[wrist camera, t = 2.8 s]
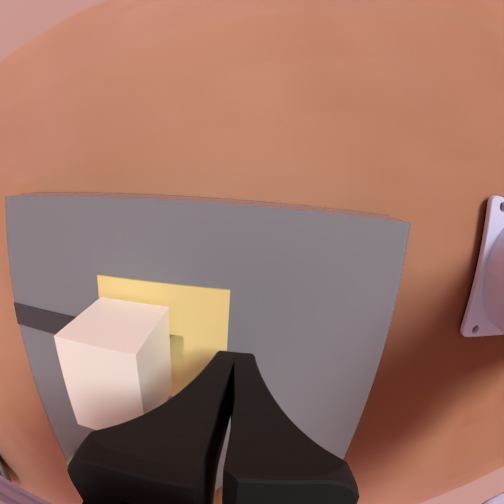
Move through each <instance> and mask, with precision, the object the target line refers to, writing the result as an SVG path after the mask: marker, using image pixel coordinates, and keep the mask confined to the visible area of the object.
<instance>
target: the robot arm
mask: <svg viewBox="0 0 504 504" xmlns="http://www.w3.org/2000/svg"><path fill="white" fill-rule="evenodd" d="M500 204H502V207H501V210H500ZM474 327H475V328H474ZM473 328H474V329H473ZM472 329H473V330H472ZM460 332H461V334H462V335H463V336H464V337H478V336H492V335H504V198H503V197H499V196H491V197H490V198H489V199H488V203H487V210H486V218H485V225H484V231H483V237H482V243H481V249H480V254H479V259H478V264H477V268H476V273H475V277H474V281H473V285H472V289H471V293H470V297H469V301H468V304H467V308H466V311H465V315H464V318H463V321H462V324H461V328H460ZM230 416H231V429H230V435H229V440H228V446H227V452H226V457H225V462H224V467H223V487H222V504H357V502H358V499H359V493H358V488H357V484H356V481H355V479H354V477H353V474H352V472H351V470H350V468H349V466H348V464H347V462H346V461H344V460H342V459H341V458H339V457H337V456H336V455H334V454H332V453H330V452H329V451H327V450H325V449H324V448H322V447H321V446H320V445H318V444H317V443H316V442H314V441H313V440H312V439H310V438H309V437H308V436H307V435H306V434H305V433H304V432H302V431H301V430H300V429H299V428H298V427H297V426H296V425H295V424H294V423H293V422H292V421H291V420H290V418H289V417H288V416H287V415H286V414H285V413H284V411H283V410H282V409H281V407H280V406H279V405H278V403H277V402H276V400H275V399H274V397H273V396H272V394H271V393H270V391H269V389H268V387H267V386H266V384H265V382H264V380H263V378H262V376H261V373H260V371H259V369H258V366H257V363H256V359H255V356H254V355H253V354H251V353H239V352H229V351H218V352H217V353H216V354H215V356H214V357H213V358H212V360H211V361H210V362H209V363H208V365H207V366H206V367H205V368H204V369H203V370H202V371H201V372H200V373H199V374H198V375H197V376H196V378H195V379H193V380H192V381H191V382H190V383H189V384H188V385H187V386H186V387H185V388H183V389H182V390H181V391H180V392H179V393H177V394H176V395H175V396H173V397H172V398H171V399H169V400H168V401H166V402H165V403H163V404H162V405H160V406H158V407H157V408H155V409H153V410H151V411H149V412H148V413H146V414H144V415H141V416H139V417H137V418H134V419H132V420H129V421H127V422H124V423H121V424H118V425H115V426H111V427H107V428H104V429H100V430H96V431H91V432H90V433H89V435H88V436H87V437H86V438H85V439H84V441H83V442H82V443H81V445H80V446H79V448H78V450H77V451H76V453H75V454H74V456H73V458H72V459H71V461H70V463H69V464H68V473H69V476H70V478H71V480H72V482H73V484H74V486H75V487H76V489H77V491H78V492H79V494H80V496H81V497H82V499H83V503H82V504H213V500H214V492H215V485H216V477H217V470H218V465H219V460H220V456H221V452H222V448H223V444H224V440H225V436H226V432H227V428H228V424H229V420H230ZM0 504H51V503H49V502H47V501H45V500H43V499H41V498H39V497H37V496H35V495H33V494H32V493H30V492H28V491H26V490H24V489H23V488H21V487H19V486H17V485H16V484H14V483H12V482H10V481H9V480H7V479H6V478H4V477H2V476H1V475H0ZM482 504H504V492H503V493H502V494H499V495H497V496H495V497H493V498H491V499H489V500H487V501H485V502H484V503H482Z"/></svg>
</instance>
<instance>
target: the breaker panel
mask: <svg viewBox="0 0 504 504" xmlns="http://www.w3.org/2000/svg"><path fill="white" fill-rule="evenodd" d="M5 206H6V231H7V245H8V256H9V265H10V273H11V280H12V287H13V293H14V299H15V302H14V306H15V311H16V316H17V321H18V324H19V325H20V329H21V334H22V338H23V342H24V346H25V350H26V353H27V357H28V361H29V364H30V368H31V371H32V374H33V377H34V380H35V384H36V387H37V390H38V393H39V395H40V398H41V401H42V404H43V406H44V409H45V412H46V414H47V417H48V419H49V422H50V424H51V427H52V429H53V432H54V434H55V436H56V438H57V441H58V443H59V445H60V447H61V449H62V452H63V454H64V456H65V458H66V460H67V463H66V465H67V468H68V464H69V463H70V461H71V459H72V458H73V456H74V454H75V453H76V451H77V450H78V448H79V446H80V445H81V443H82V442H83V441H84V439H85V438H86V437H87V436H88V435H89V433H90V432H91V431H96V430H94V429H91V428H88V427H85V426H82V425H79V424H78V423H77V420H76V417H75V414H74V411H73V408H72V405H71V401H70V398H69V395H68V391H67V388H66V384H65V381H64V377H63V373H62V369H61V365H60V361H59V357H58V353H57V348H56V344H55V339H54V335H56V334H57V333H58V332H59V331H60V330H62V329H63V328H64V327H65V326H66V325H67V324H69V323H70V322H71V321H72V320H74V319H75V318H76V317H77V316H78V315H80V314H81V313H82V312H83V311H84V310H86V309H87V308H88V307H89V306H91V305H92V304H93V303H94V302H96V301H97V300H98V299H99V298H101V297H105V298H111V299H117V300H124V301H131V302H138V303H145V304H152V305H159V306H167V307H169V330H170V356H171V374H172V390H171V392H170V395H169V397H168V400H169V399H171V398H172V397H173V396H175V395H176V394H177V393H179V392H180V391H181V390H182V389H183V388H185V387H186V386H187V385H188V384H189V383H190V382H191V381H192V380H193V379H195V378H196V376H197V375H198V374H199V373H200V372H201V371H202V370H203V369H204V368H205V367H206V366H207V365H208V363H209V362H210V361H211V360H212V358H213V357H214V356H215V354H216V353H217V352H218V351H229V352H239V353H251V354H253V355H254V356H255V359H256V363H257V366H258V369H259V371H260V373H261V376H262V378H263V380H264V382H265V384H266V386H267V387H268V389H269V391H270V393H271V394H272V396H273V397H274V399H275V400H276V402H277V403H278V405H279V406H280V407H281V409H282V410H283V411H284V413H285V414H286V415H287V416H288V417H289V418H290V420H291V421H292V422H293V423H294V424H295V425H296V426H297V427H298V428H299V429H300V430H301V431H302V432H304V433H305V434H306V435H307V436H308V437H309V438H310V439H312V440H313V441H314V442H316V443H317V444H318V445H320V446H321V447H322V448H324V449H325V450H327V451H329V452H330V453H332V454H334V455H336V456H337V457H339V458H341V459H342V460H343V459H344V457H345V455H346V452H347V450H348V448H349V445H350V443H351V441H352V438H353V436H354V433H355V431H356V428H357V426H358V423H359V421H360V418H361V415H362V413H363V410H364V407H365V405H366V402H367V399H368V396H369V393H370V390H371V387H372V384H373V381H374V378H375V375H376V372H377V369H378V366H379V363H380V359H381V356H382V353H383V349H384V346H385V342H386V339H387V335H388V331H389V328H390V324H391V320H392V316H393V312H394V308H395V303H396V299H397V295H398V290H399V285H400V281H401V276H402V271H403V266H404V260H405V255H406V249H407V243H408V237H409V230H410V223H407V222H404V221H402V220H399V219H396V218H393V217H390V216H387V215H379V214H372V213H364V212H356V211H348V210H339V209H331V208H321V207H312V206H303V205H292V204H282V203H271V202H260V201H248V200H235V199H221V198H206V197H190V196H172V195H151V194H124V193H77V192H35V193H28V194H21V195H14V196H7V197H5ZM168 400H167V401H168ZM230 429H231V416H230V420H229V424H228V428H227V432H226V436H225V440H224V444H223V448H222V452H221V456H220V460H219V465H218V470H217V477H216V485H215V492H214V500H213V504H215V499H216V492H217V490H218V489H219V488H221V487H222V486H223V467H224V462H225V457H226V452H227V446H228V440H229V435H230Z"/></svg>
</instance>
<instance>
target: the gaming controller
mask: <svg viewBox="0 0 504 504" xmlns="http://www.w3.org/2000/svg"><path fill="white" fill-rule="evenodd" d="M0 475H1V476H2V477H4V478H6V479H7V480H9V481H10V482H12V481H11V479H10V477H9V474H8V472H7V470H6V468H5V467H4V465H3V464H2V462H1V461H0Z"/></svg>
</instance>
